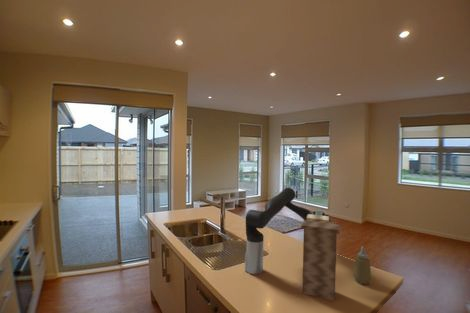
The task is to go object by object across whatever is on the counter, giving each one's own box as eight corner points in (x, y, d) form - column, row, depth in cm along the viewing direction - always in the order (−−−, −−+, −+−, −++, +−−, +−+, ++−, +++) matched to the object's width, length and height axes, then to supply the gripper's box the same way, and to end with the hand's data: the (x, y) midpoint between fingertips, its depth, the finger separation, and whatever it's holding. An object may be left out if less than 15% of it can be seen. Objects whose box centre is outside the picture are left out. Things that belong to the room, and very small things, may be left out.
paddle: (306, 224, 126) (306, 217, 125) (309, 215, 143) (309, 209, 143) (328, 227, 121) (328, 220, 121) (329, 218, 138) (329, 212, 138)
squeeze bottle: (355, 276, 129) (356, 242, 128) (372, 281, 123) (373, 246, 123) (351, 282, 122) (352, 247, 122) (369, 288, 117) (370, 251, 117)
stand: (299, 293, 111) (301, 225, 111) (302, 283, 120) (303, 220, 119) (337, 302, 105) (339, 230, 105) (337, 291, 114) (338, 224, 113)
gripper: (308, 214, 154) (306, 205, 140) (332, 217, 149) (332, 208, 135) (307, 226, 151) (305, 218, 137) (331, 229, 145) (332, 221, 131)
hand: (318, 213), depth 136 cm, fingers closed on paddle, 3 cm apart
